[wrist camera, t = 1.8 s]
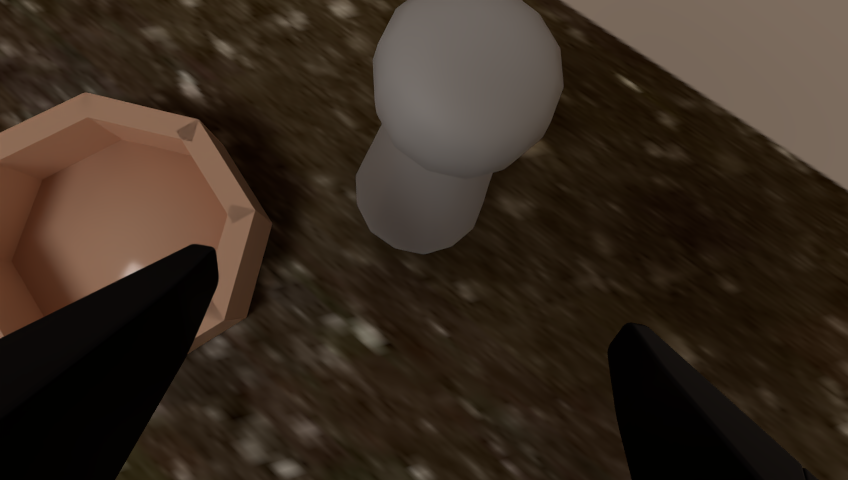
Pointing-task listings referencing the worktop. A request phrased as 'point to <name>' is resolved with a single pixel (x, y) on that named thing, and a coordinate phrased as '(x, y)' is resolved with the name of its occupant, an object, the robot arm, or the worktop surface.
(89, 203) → the pink octagonal dish
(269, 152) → the worktop surface
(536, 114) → the salt shaker
